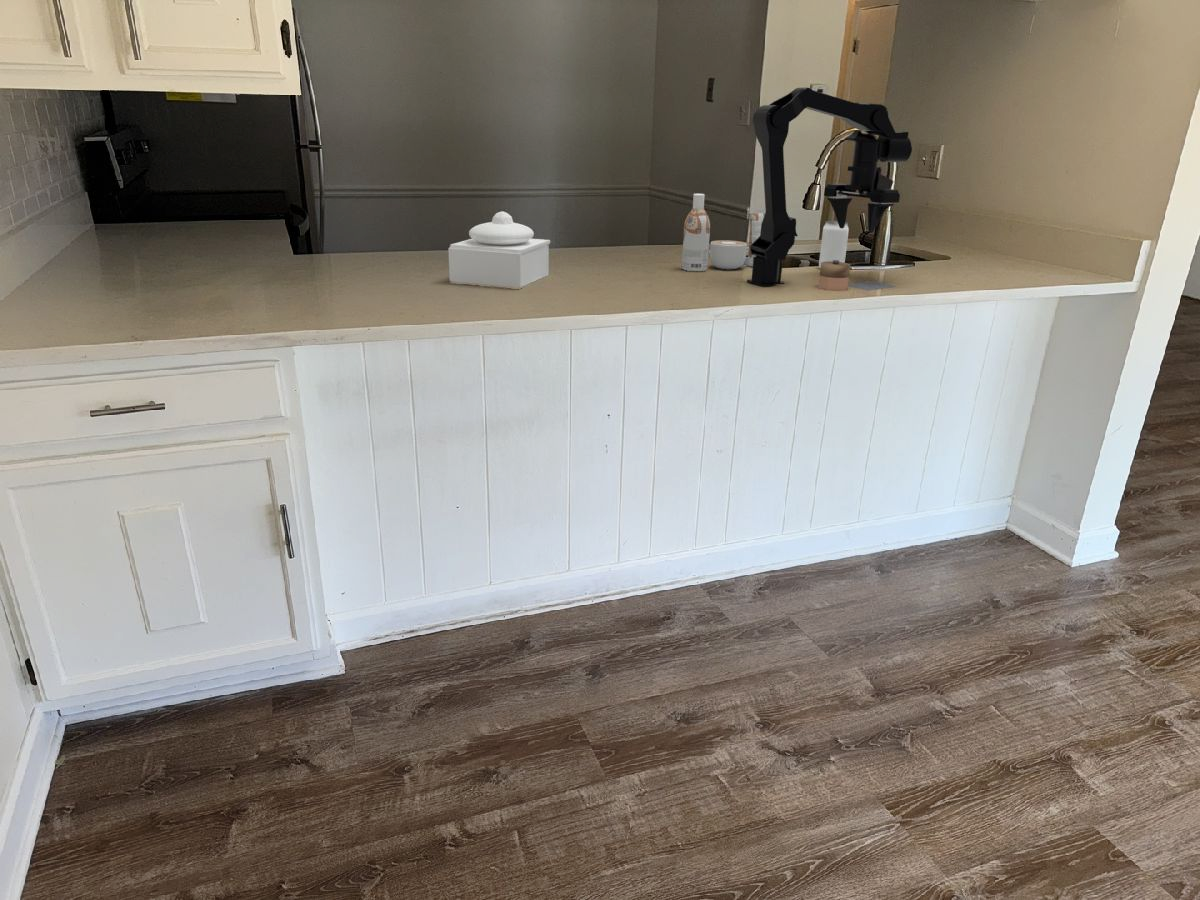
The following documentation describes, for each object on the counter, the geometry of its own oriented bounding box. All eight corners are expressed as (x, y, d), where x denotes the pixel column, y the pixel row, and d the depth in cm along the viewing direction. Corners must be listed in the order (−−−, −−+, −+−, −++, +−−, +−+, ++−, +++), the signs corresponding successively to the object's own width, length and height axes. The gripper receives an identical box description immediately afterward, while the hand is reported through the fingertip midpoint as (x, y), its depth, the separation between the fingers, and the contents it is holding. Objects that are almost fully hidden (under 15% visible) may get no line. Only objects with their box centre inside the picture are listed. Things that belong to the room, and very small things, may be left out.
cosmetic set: (757, 263, 230) (763, 191, 223) (776, 269, 222) (783, 194, 215) (674, 267, 221) (678, 192, 214) (691, 273, 213) (696, 196, 206)
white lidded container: (449, 284, 195) (446, 212, 189) (484, 271, 211) (482, 205, 205) (520, 290, 190) (519, 217, 184) (550, 277, 206) (550, 209, 200)
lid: (834, 278, 193) (836, 263, 191) (813, 274, 198) (815, 259, 197) (855, 276, 196) (857, 261, 195) (833, 271, 201) (835, 257, 200)
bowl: (832, 292, 194) (834, 278, 193) (812, 287, 199) (814, 274, 198) (852, 290, 197) (854, 276, 196) (832, 285, 202) (833, 272, 201)
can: (844, 271, 220) (850, 224, 216) (818, 270, 221) (824, 223, 217) (842, 267, 226) (848, 221, 222) (818, 266, 227) (823, 220, 223)
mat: (867, 291, 196) (867, 290, 196) (841, 285, 202) (841, 284, 202) (896, 288, 201) (897, 286, 201) (870, 282, 207) (870, 280, 207)
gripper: (920, 164, 195) (910, 233, 201) (858, 159, 210) (850, 224, 216) (887, 164, 190) (877, 236, 195) (826, 159, 204) (818, 226, 210)
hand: (856, 230), depth 204 cm, fingers open, 9 cm apart
